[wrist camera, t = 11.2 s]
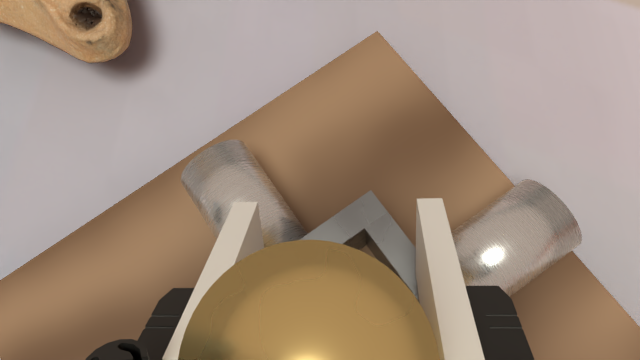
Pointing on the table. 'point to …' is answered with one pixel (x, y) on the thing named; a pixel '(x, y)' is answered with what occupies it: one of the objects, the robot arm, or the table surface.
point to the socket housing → (383, 232)
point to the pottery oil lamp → (74, 25)
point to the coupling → (309, 309)
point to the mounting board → (299, 217)
